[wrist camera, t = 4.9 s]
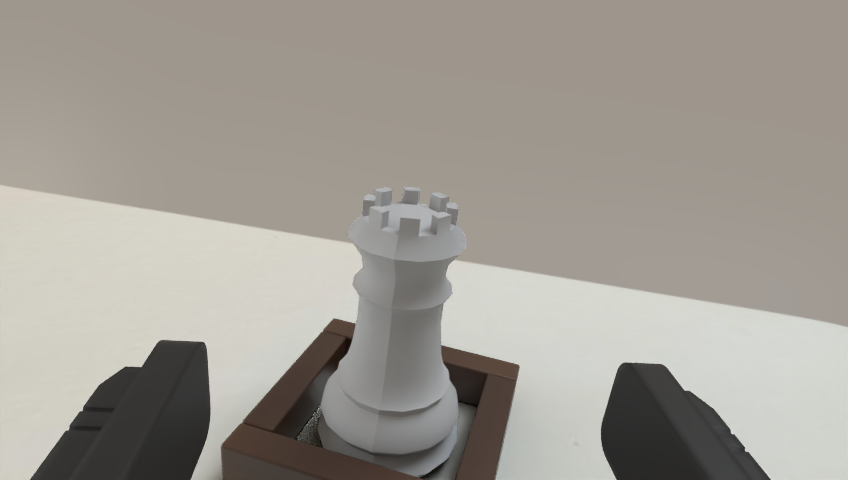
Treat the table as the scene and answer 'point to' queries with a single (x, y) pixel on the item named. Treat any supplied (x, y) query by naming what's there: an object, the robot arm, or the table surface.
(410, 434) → the rook chess piece
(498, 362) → the holder collar
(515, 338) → the table surface
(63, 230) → the table surface
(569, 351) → the table surface
